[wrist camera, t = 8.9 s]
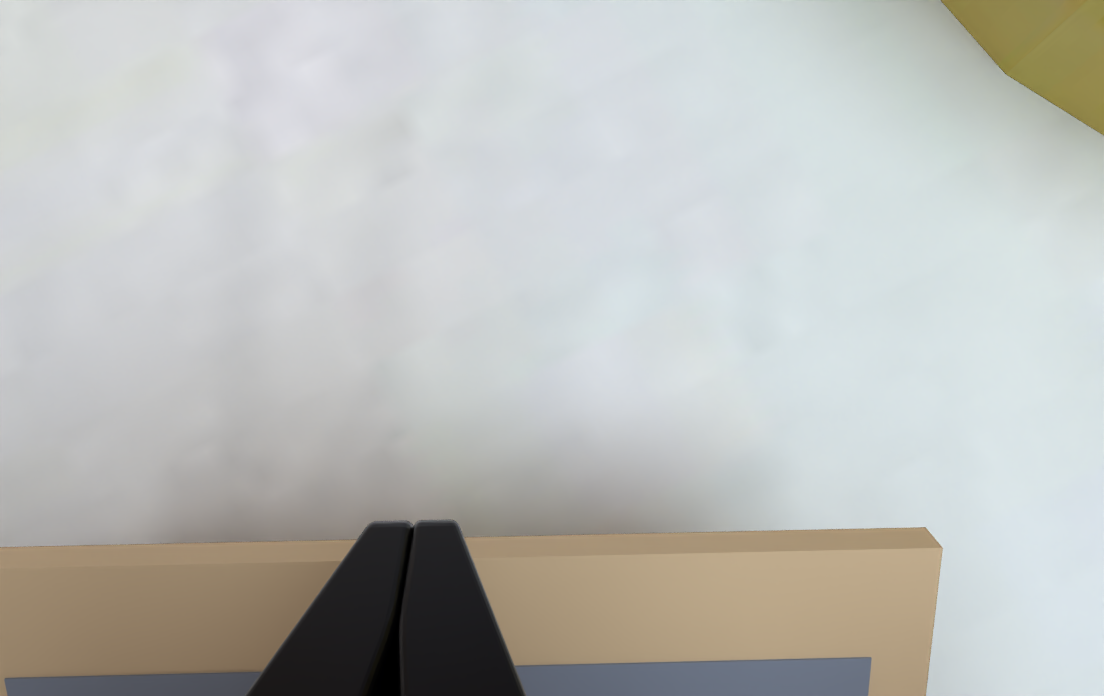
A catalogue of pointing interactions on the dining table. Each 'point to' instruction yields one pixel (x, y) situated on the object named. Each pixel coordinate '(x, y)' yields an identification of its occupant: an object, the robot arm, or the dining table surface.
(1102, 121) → the cheese
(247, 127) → the dining table surface
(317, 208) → the dining table surface
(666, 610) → the far flap
